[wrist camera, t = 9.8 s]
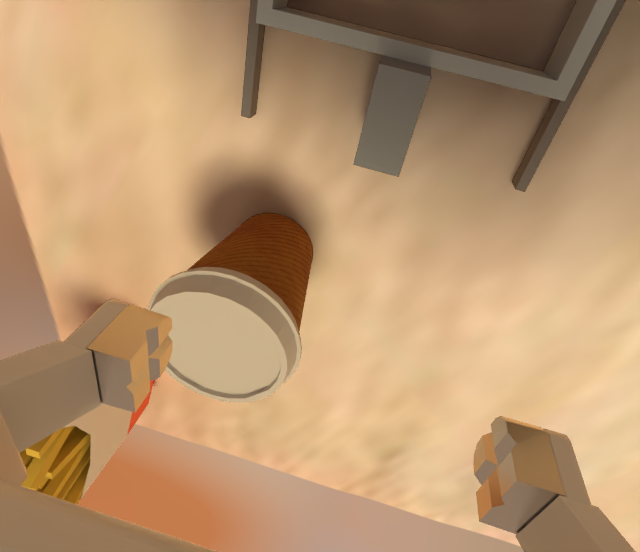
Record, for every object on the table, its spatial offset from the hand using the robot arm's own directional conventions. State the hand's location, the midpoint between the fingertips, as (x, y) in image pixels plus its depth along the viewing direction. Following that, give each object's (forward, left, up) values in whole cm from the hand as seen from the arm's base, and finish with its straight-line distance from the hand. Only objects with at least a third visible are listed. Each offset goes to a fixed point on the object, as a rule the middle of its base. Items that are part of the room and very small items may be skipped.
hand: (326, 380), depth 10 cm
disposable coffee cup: (+6, +11, -21) cm, 24 cm away
